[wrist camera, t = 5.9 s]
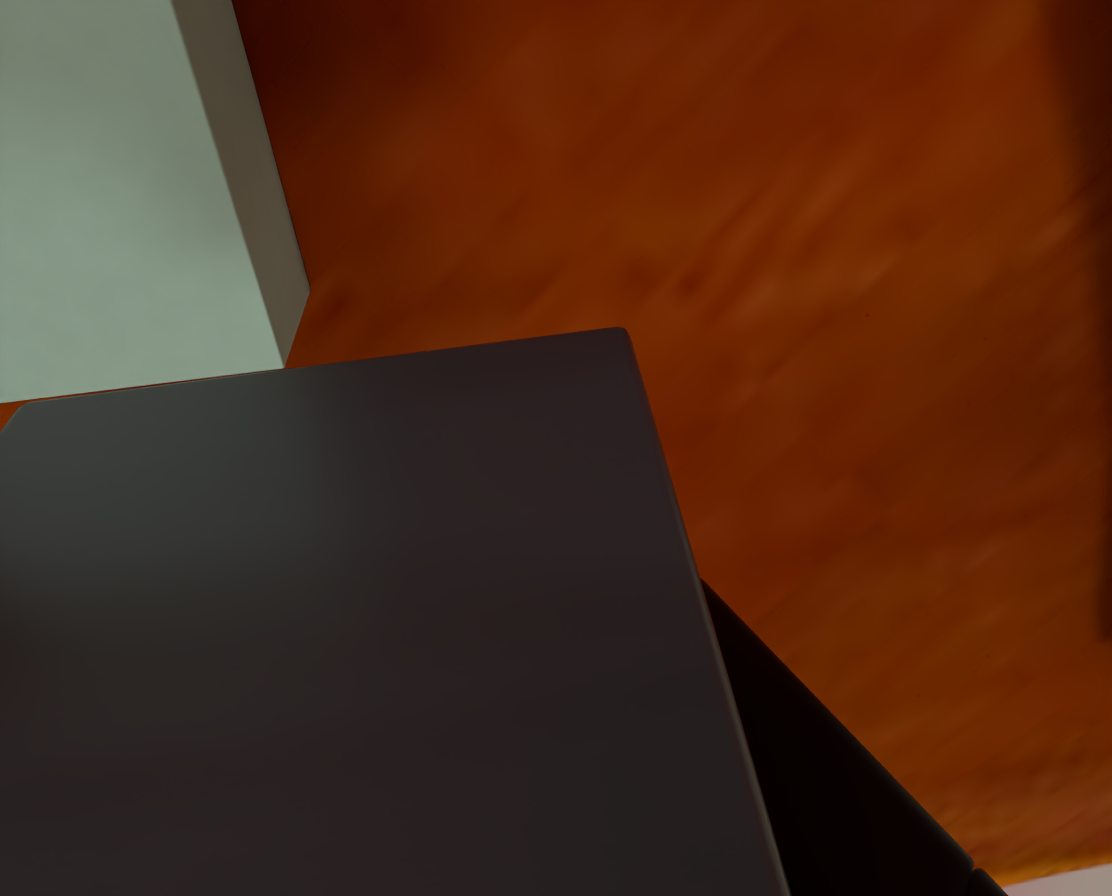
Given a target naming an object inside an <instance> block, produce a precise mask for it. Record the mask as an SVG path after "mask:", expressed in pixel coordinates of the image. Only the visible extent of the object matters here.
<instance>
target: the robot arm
mask: <svg viewBox="0 0 1112 896" xmlns="http://www.w3.org/2000/svg"><path fill="white" fill-rule="evenodd" d="M700 580H701V584H702V587H703V591H704V594H705V598H706V601H707V604H708V608H709V611H710V615H711V618H712V622H713V625H714V629H715V632H716V636H717V639H718V643H719V646H720V649H721V653H722V656H723V660H724V663H725V667H726V670H727V674H728V677H729V681H730V684H731V687H732V691H733V694H734V698H735V701H736V705H737V708H738V712H739V715H740V719H741V722H742V726H743V729H744V732H745V736H746V739H747V743H748V746H749V750H750V753H751V757H752V760H753V764H754V767H755V770H756V774H757V777H758V781H759V784H760V788H761V791H762V795H763V798H764V802H765V805H766V809H767V812H768V815H769V819H770V822H771V826H772V829H773V833H774V836H775V840H776V843H777V847H778V850H779V854H780V857H781V860H782V864H783V867H784V871H785V874H786V878H787V881H788V885H789V888H790V892H791V895H792V896H1008V895H1007V894H1006V893H1005V892H1004V891H1003V890H1002V889H1001V888H1000V887H999V885H998V884H997V883H996V882H995V881H994V880H993V879H992V878H991V877H990V876H989V875H988V874H987V873H986V872H985V871H984V870H983V869H980V868H977V869H975V870H974V871H973V867H974V862H973V860H972V858H971V857H970V856H969V855H968V854H967V853H966V852H965V851H964V850H963V849H962V848H961V847H960V846H959V845H958V844H957V842H956V841H955V840H954V839H953V838H952V837H951V836H950V835H949V834H948V833H947V832H946V831H945V830H944V829H943V828H942V827H941V826H940V825H939V824H938V823H937V822H936V821H935V820H934V819H933V818H932V817H931V816H930V814H929V813H928V812H927V811H926V810H925V809H924V808H923V807H922V806H921V805H920V804H919V803H918V802H917V801H916V800H915V799H914V798H913V797H912V796H911V795H910V794H909V793H908V792H907V791H906V790H905V789H904V788H903V787H902V785H901V784H900V783H899V782H898V781H897V780H896V779H895V778H894V777H893V776H892V775H891V774H890V773H889V772H888V771H887V770H886V769H885V768H884V767H883V766H882V765H881V764H880V763H879V762H878V761H877V760H876V759H875V758H874V756H873V755H872V754H871V753H870V752H869V751H868V750H867V749H866V748H865V747H864V746H863V745H862V744H861V743H860V742H859V741H858V740H857V739H856V738H855V737H854V736H853V735H852V734H851V733H850V732H849V731H848V730H847V729H846V727H845V726H844V725H843V724H842V723H841V722H840V721H839V720H838V719H837V718H836V717H835V716H834V715H833V714H832V713H831V712H830V711H829V710H828V709H827V708H826V707H825V706H824V705H823V704H822V703H821V702H820V701H819V699H818V698H817V697H816V696H815V695H814V694H813V693H812V692H811V691H810V690H809V689H808V688H807V687H806V686H805V685H804V684H803V683H802V682H801V681H800V680H799V679H798V678H797V677H796V676H795V675H794V674H793V673H792V672H791V670H790V669H789V668H788V667H787V666H786V665H785V664H784V663H783V662H782V661H781V660H780V659H779V658H778V657H777V656H776V655H775V654H774V653H773V652H772V651H771V650H770V649H769V648H768V647H767V646H766V645H765V644H764V643H763V641H762V640H761V639H760V638H759V637H758V636H757V635H756V634H755V633H754V632H753V631H752V630H751V629H750V628H749V627H748V626H747V625H746V624H745V623H744V622H743V621H742V620H741V619H740V618H739V617H738V616H737V615H736V614H735V612H734V611H733V610H732V609H731V608H730V607H729V606H728V605H727V604H726V603H725V602H724V601H723V600H722V599H721V598H720V597H719V596H718V595H717V594H716V593H715V592H714V591H713V590H712V589H711V588H710V587H709V586H708V584H707V583H706V582H705V581H704V580H702V579H701V578H700Z"/></svg>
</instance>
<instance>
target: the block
mask: <svg viewBox="0 0 1112 896" xmlns="http://www.w3.org/2000/svg"><path fill="white" fill-rule="evenodd" d="M0 896H792V895H791V892H790V888H789V885H788V881H787V878H786V874H785V871H784V867H783V864H782V860H781V857H780V854H779V850H778V847H777V843H776V840H775V836H774V833H773V829H772V826H771V822H770V819H769V815H768V812H767V809H766V805H765V802H764V798H763V795H762V791H761V788H760V784H759V781H758V777H757V774H756V770H755V767H754V764H753V760H752V757H751V753H750V750H749V746H748V743H747V739H746V736H745V732H744V729H743V726H742V722H741V719H740V715H739V712H738V708H737V705H736V701H735V698H734V694H733V691H732V687H731V684H730V681H729V677H728V674H727V670H726V667H725V663H724V660H723V656H722V653H721V649H720V646H719V643H718V639H717V636H716V632H715V629H714V625H713V622H712V618H711V615H710V611H709V608H708V604H707V601H706V598H705V594H704V591H703V587H702V584H701V580H700V577H699V573H698V570H697V566H696V563H695V560H694V556H693V553H692V549H691V546H690V542H689V539H688V535H687V532H686V528H685V525H684V521H683V518H682V515H681V511H680V508H679V504H678V501H677V497H676V494H675V490H674V487H673V483H672V480H671V477H670V473H669V470H668V466H667V463H666V459H665V456H664V452H663V449H662V445H661V442H660V438H659V435H658V432H657V428H656V425H655V421H654V418H653V414H652V411H651V407H650V404H649V400H648V397H647V393H646V390H645V387H644V383H643V380H642V376H641V373H640V369H639V366H638V362H637V359H636V355H635V352H634V349H633V345H632V342H631V338H630V336H629V334H628V332H627V330H626V329H625V328H621V327H611V328H603V329H596V330H588V331H580V332H572V333H564V334H557V335H549V336H541V337H533V338H526V339H518V340H510V341H502V342H494V343H487V344H479V345H471V346H463V347H455V348H448V349H440V350H432V351H424V352H417V353H409V354H401V355H393V356H385V357H378V358H370V359H362V360H354V361H346V362H339V363H331V364H323V365H315V366H308V367H300V368H292V369H284V370H276V371H269V372H261V373H253V374H245V375H237V376H230V377H222V378H214V379H206V380H199V381H191V382H183V383H175V384H167V385H160V386H152V387H144V388H136V389H129V390H121V391H113V392H105V393H97V394H90V395H82V396H74V397H66V398H58V399H51V400H43V401H35V402H29V403H26V404H24V405H22V406H20V407H19V408H18V409H17V410H16V412H15V413H14V414H13V416H12V417H11V418H10V420H9V421H8V422H7V424H6V425H5V426H4V428H3V429H2V430H1V432H0Z"/></svg>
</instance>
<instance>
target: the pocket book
mask: <svg viewBox="0 0 1112 896" xmlns="http://www.w3.org/2000/svg"><path fill="white" fill-rule="evenodd" d="M309 293H310V286H309V282H308V279H307V275H306V272H305V268H304V264H303V261H302V257H301V253H300V250H299V246H298V242H297V239H296V235H295V231H294V228H293V224H292V220H291V217H290V213H289V209H288V206H287V202H286V198H285V195H284V191H283V187H282V184H281V180H280V176H279V173H278V169H277V165H276V162H275V158H274V154H273V151H272V147H271V144H270V140H269V136H268V133H267V129H266V125H265V122H264V118H263V114H262V111H261V107H260V103H259V100H258V96H257V92H256V89H255V85H254V81H253V78H252V74H251V70H250V67H249V63H248V59H247V56H246V52H245V48H244V45H243V41H242V37H241V34H240V30H239V26H238V23H237V19H236V15H235V12H234V8H233V5H232V1H231V0H0V403H5V402H13V401H22V400H30V399H38V398H46V397H54V396H62V395H70V394H79V393H87V392H95V391H103V390H111V389H119V388H127V387H136V386H144V385H152V384H160V383H168V382H176V381H184V380H193V379H201V378H209V377H217V376H225V375H233V374H241V373H250V372H258V371H266V370H274V369H282V368H284V367H285V364H286V361H287V358H288V355H289V352H290V349H291V346H292V343H293V340H294V337H295V334H296V332H297V329H298V326H299V323H300V320H301V317H302V314H303V311H304V308H305V305H306V302H307V299H308V296H309Z"/></svg>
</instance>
